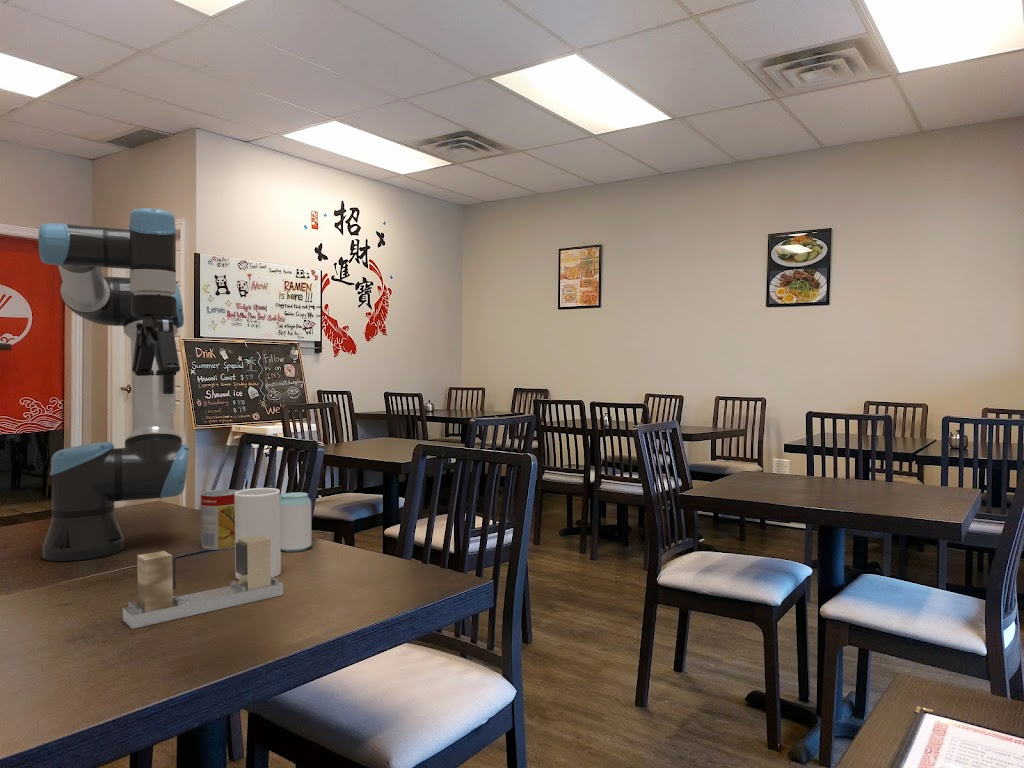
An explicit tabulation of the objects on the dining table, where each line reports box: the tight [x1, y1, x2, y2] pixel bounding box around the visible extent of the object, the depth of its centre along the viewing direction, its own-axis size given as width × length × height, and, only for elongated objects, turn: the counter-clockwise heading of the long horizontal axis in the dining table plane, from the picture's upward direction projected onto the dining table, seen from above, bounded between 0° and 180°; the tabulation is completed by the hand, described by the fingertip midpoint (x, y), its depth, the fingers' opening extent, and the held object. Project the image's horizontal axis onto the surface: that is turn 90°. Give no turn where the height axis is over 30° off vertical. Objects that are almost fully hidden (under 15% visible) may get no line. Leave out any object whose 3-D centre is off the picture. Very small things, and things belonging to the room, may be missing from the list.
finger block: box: [136, 550, 177, 612], centre depth 113 cm, size 5×4×8 cm
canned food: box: [200, 488, 239, 551], centre depth 160 cm, size 8×8×12 cm
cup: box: [234, 487, 282, 580], centre depth 137 cm, size 8×8×16 cm
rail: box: [122, 535, 284, 630], centre depth 118 cm, size 5×24×10 cm, turn 132°
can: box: [280, 491, 313, 553], centre depth 157 cm, size 7×7×12 cm
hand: (155, 411), depth 131 cm, fingers open, 13 cm apart
